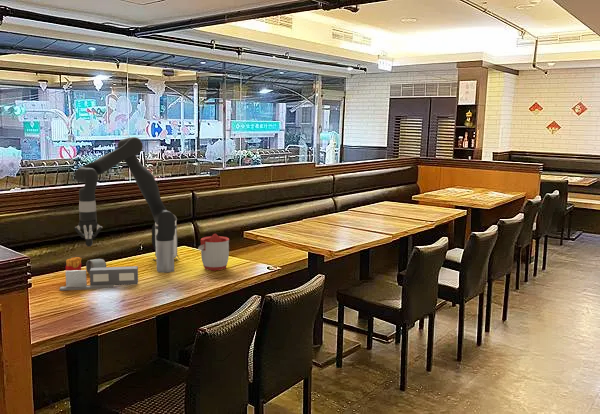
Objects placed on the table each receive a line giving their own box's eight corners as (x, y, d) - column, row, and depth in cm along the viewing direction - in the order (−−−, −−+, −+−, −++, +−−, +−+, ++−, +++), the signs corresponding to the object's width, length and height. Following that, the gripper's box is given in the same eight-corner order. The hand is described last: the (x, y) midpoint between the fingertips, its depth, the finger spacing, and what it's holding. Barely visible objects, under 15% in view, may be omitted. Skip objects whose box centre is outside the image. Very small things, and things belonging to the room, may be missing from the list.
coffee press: (181, 256, 324) (180, 207, 320) (177, 263, 308) (176, 211, 304) (152, 256, 323) (151, 207, 319) (146, 263, 307) (145, 211, 303)
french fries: (70, 284, 264) (69, 260, 262) (64, 282, 266) (63, 259, 264) (84, 280, 271) (83, 256, 270) (78, 278, 273) (77, 255, 271)
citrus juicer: (193, 267, 299) (193, 232, 296) (221, 263, 309) (221, 229, 306) (204, 274, 286) (204, 237, 284) (234, 270, 296) (234, 234, 293)
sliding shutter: (86, 285, 258) (86, 269, 256) (86, 286, 256) (85, 270, 255) (66, 286, 256) (65, 270, 254) (66, 287, 254) (65, 271, 253)
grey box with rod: (138, 281, 270) (137, 266, 269) (136, 287, 261) (136, 271, 260) (63, 284, 262) (63, 269, 261) (59, 290, 253) (58, 274, 252)
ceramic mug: (107, 272, 286) (107, 258, 285) (93, 275, 279) (93, 261, 278) (96, 269, 292) (95, 255, 291) (82, 272, 286) (81, 258, 285)
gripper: (103, 208, 257) (104, 244, 260) (74, 209, 254) (75, 245, 257) (101, 211, 250) (102, 247, 252) (71, 211, 247) (72, 248, 249)
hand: (89, 246), depth 255 cm, fingers closed
